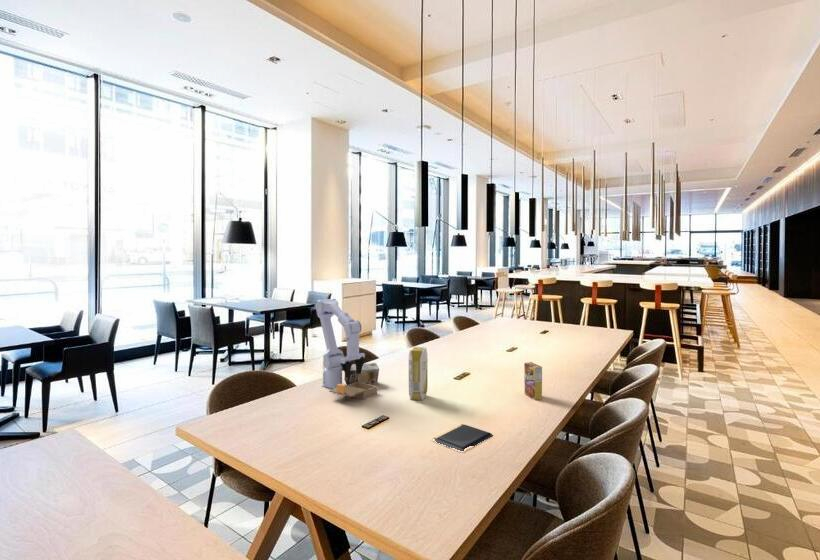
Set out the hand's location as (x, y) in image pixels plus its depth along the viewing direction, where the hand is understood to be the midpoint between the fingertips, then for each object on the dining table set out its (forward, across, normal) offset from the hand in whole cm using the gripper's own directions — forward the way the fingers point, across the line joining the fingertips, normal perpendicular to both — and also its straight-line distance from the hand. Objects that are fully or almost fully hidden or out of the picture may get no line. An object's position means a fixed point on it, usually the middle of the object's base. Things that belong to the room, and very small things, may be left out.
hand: (353, 375), depth 208 cm
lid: (+6, -6, -2) cm, 8 cm away
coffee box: (+4, +21, +3) cm, 22 cm away
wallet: (+10, -13, -65) cm, 67 cm away
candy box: (+9, +45, -71) cm, 84 cm away
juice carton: (+10, +14, -27) cm, 32 cm away
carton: (+9, +3, -2) cm, 10 cm away
